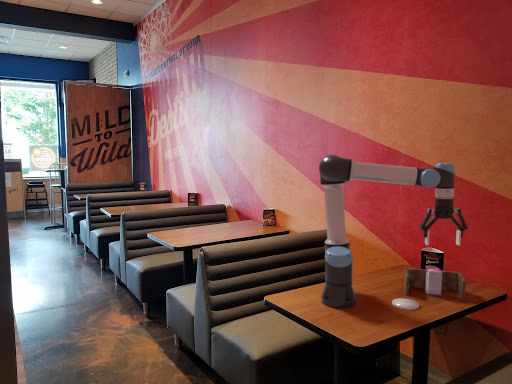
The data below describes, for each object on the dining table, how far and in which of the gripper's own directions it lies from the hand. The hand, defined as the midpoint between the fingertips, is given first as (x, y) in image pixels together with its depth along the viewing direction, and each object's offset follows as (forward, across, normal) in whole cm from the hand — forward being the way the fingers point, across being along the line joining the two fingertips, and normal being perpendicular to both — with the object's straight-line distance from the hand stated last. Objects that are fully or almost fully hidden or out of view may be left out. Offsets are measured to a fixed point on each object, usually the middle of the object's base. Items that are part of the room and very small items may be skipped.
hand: (442, 244), depth 175 cm
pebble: (+24, -19, -11) cm, 32 cm away
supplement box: (+24, -2, +4) cm, 24 cm away
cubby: (+24, -2, +4) cm, 24 cm away
